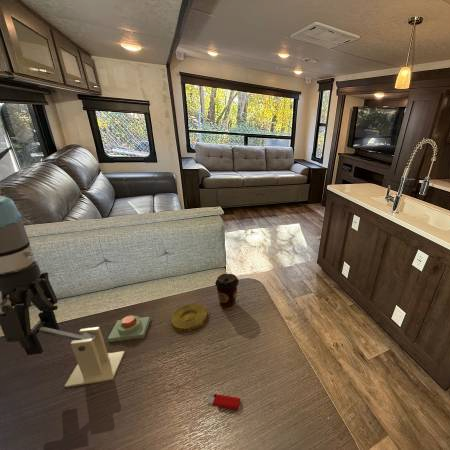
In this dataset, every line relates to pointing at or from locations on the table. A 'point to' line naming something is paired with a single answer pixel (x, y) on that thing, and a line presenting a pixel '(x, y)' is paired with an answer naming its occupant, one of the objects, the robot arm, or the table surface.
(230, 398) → the lighter
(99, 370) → the bracket
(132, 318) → the button
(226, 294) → the coffee cup
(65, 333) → the lever
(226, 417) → the table surface
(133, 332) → the button box
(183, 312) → the olive yellow disc
